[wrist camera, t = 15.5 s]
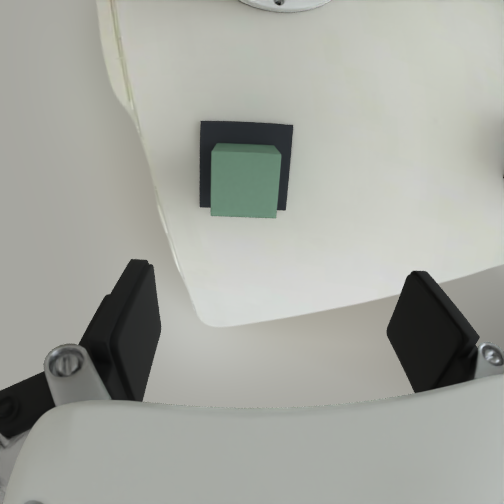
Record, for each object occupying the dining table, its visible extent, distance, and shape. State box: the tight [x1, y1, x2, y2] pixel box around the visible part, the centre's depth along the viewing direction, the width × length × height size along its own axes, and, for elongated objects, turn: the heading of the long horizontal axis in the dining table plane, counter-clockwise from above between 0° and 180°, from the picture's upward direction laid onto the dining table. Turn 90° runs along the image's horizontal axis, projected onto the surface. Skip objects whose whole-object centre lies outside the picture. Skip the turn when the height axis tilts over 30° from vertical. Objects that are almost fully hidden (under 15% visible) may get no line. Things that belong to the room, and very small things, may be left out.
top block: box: [211, 143, 281, 218], centre depth 24 cm, size 5×5×5 cm
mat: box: [200, 121, 293, 210], centre depth 26 cm, size 8×8×1 cm
